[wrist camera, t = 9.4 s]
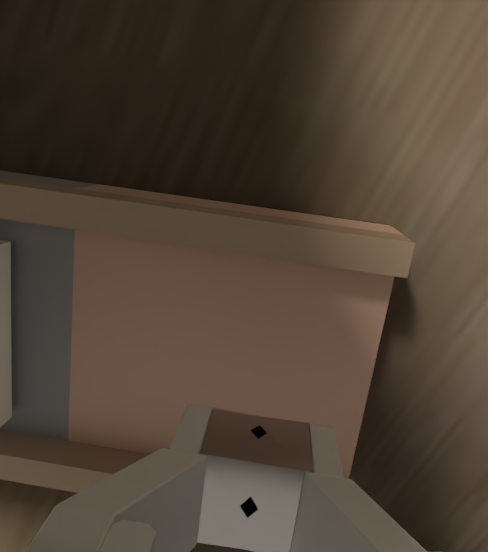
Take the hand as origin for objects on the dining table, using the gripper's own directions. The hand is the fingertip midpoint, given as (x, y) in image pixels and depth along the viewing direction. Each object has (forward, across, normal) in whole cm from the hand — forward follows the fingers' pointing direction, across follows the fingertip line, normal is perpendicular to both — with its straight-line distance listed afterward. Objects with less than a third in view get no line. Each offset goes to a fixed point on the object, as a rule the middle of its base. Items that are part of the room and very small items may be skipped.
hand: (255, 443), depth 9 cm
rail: (+4, +9, 0) cm, 10 cm away
